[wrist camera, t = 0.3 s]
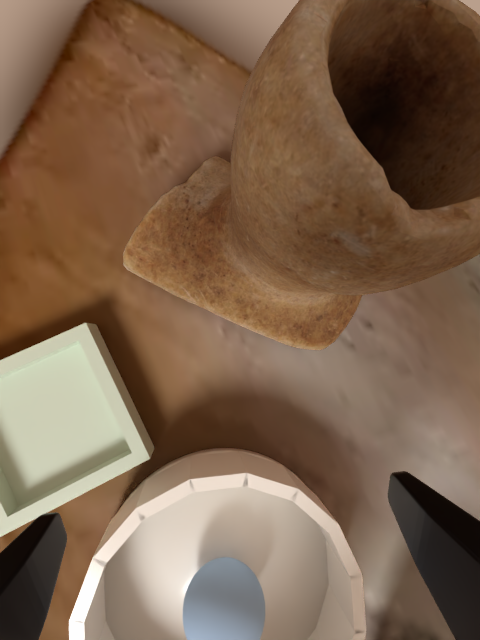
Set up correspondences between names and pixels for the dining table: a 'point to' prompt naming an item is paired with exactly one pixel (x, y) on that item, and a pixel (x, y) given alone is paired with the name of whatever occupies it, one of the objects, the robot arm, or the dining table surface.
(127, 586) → the bowl
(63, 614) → the dining table surface
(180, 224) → the tan boot vase
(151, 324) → the dining table surface
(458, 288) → the dining table surface
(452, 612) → the robot arm
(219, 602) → the ball
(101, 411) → the tray
